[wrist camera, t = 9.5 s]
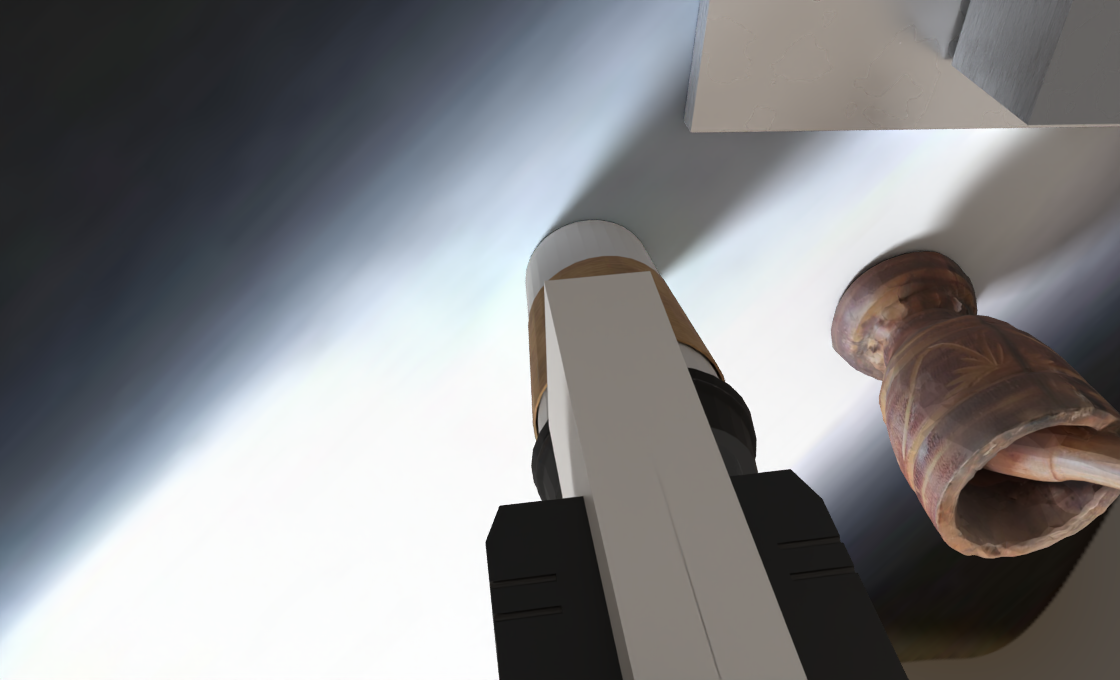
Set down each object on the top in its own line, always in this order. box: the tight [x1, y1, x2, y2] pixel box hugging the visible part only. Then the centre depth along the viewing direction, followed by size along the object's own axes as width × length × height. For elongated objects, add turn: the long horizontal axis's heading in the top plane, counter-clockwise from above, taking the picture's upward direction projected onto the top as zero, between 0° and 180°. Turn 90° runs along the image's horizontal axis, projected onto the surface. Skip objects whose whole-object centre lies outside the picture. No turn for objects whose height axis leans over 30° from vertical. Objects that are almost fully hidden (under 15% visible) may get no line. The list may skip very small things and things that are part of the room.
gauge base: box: [684, 0, 1120, 133], centre depth 37 cm, size 12×24×6 cm, turn 87°
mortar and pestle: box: [831, 251, 1120, 558], centre depth 41 cm, size 12×9×20 cm
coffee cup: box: [526, 220, 758, 501], centre depth 40 cm, size 8×8×15 cm
